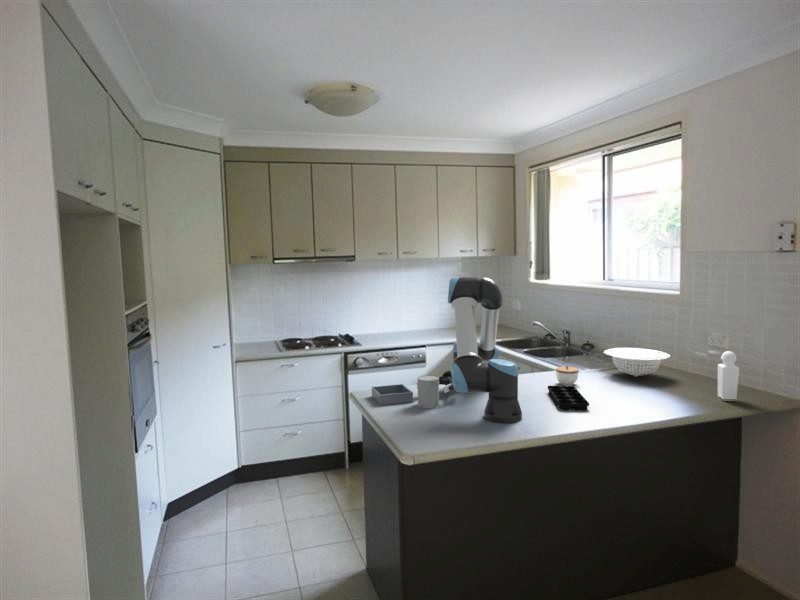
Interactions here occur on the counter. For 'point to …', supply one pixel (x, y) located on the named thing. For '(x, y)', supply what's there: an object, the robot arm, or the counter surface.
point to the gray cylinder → (428, 391)
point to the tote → (392, 394)
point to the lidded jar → (567, 375)
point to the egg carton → (568, 398)
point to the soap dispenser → (728, 376)
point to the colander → (636, 359)
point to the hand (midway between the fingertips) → (431, 387)
